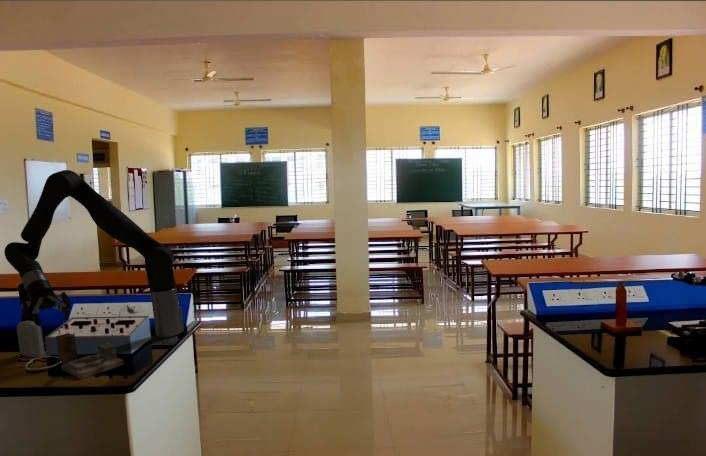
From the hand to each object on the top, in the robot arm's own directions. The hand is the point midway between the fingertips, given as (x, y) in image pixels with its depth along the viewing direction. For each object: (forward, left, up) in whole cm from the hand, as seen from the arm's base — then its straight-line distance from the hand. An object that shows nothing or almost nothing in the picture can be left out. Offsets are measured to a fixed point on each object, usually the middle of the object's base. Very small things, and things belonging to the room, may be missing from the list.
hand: (53, 321), depth 174 cm
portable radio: (-4, -38, -13) cm, 41 cm away
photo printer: (+4, -13, -13) cm, 19 cm away
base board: (-2, +23, -13) cm, 26 cm away
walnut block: (0, +9, -13) cm, 16 cm away
